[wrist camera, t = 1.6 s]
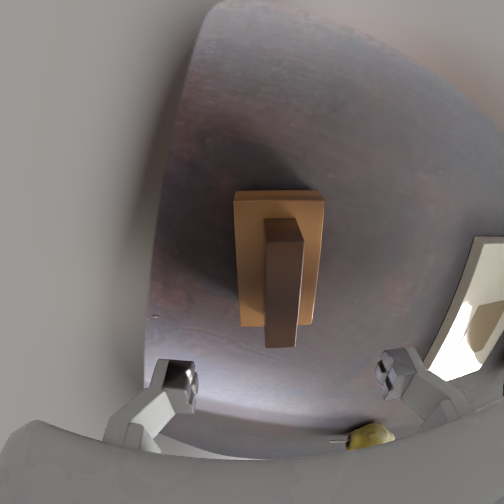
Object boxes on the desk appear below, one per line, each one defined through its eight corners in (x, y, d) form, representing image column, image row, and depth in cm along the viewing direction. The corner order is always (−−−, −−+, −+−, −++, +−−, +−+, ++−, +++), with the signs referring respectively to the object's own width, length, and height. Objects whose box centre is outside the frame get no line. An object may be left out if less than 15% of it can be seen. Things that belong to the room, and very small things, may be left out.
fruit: (328, 427, 33) (397, 417, 31) (329, 431, 37) (390, 422, 35) (328, 464, 29) (399, 453, 27) (330, 463, 33) (391, 454, 31)
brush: (235, 187, 17) (229, 222, 12) (314, 186, 17) (340, 221, 12) (241, 302, 22) (239, 359, 17) (305, 300, 22) (319, 356, 17)
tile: (474, 235, 19) (484, 244, 18) (533, 237, 19) (542, 243, 17) (411, 381, 28) (415, 390, 27) (474, 362, 28) (479, 370, 27)
